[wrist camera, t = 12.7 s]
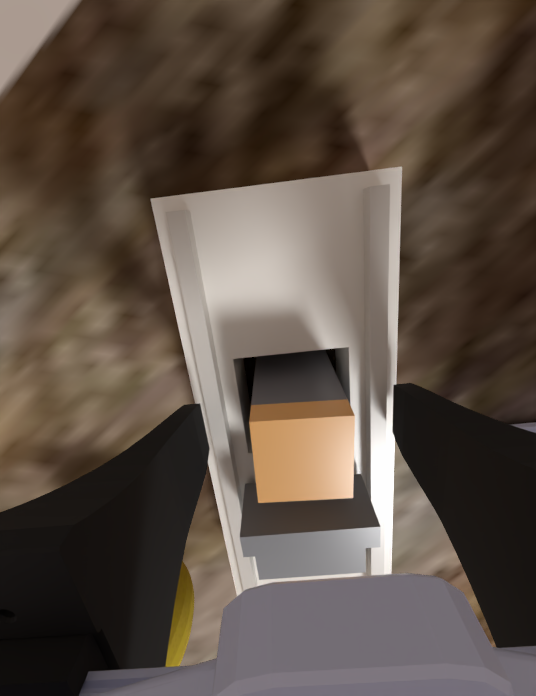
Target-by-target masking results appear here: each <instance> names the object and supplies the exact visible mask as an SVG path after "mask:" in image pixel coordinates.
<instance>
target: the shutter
mask: <svg viewBox="0 0 536 696" xmlns="http://www.w3.org/2000/svg"><path fill="white" fill-rule="evenodd" d="M380 531H381V527H380V524H379V521H378V518H377V516H376V513H375V510H374V508H373V505H372V502H371V499H370V497H369V494H368V491H367V489H366V486H365V483H364V480H363V478H362V475H361V474H354V483H353V498H345V499H326V500H306V501H287V502H268V503H258V497H257V488H256V483H247V484H245V489H244V499H243V509H242V519H241V529H240V542H241V547H242V552H243V557H254V556H255V559H256V565H257V570H258V576H259V580H265V579H279V578H293V577H308V576H322V575H336V574H350V573H364V572H366V548H376V547H380Z"/></svg>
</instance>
